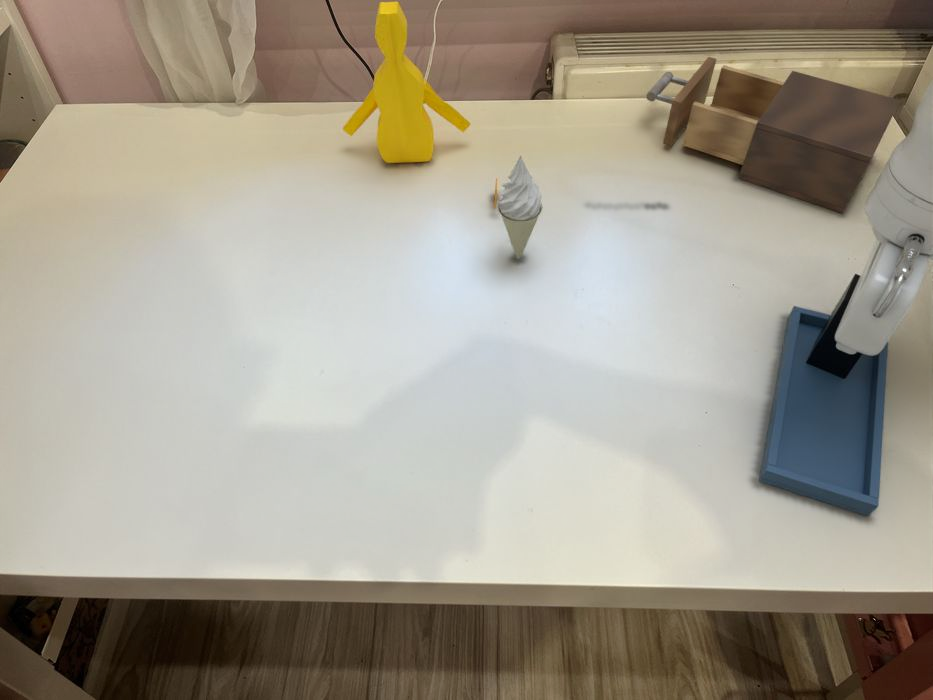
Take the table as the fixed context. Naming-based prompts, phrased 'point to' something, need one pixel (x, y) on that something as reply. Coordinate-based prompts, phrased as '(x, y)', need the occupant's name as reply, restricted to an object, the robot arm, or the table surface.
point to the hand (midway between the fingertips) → (859, 314)
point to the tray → (825, 423)
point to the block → (825, 344)
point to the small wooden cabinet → (817, 140)
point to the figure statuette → (401, 97)
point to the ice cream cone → (520, 206)
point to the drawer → (717, 109)
